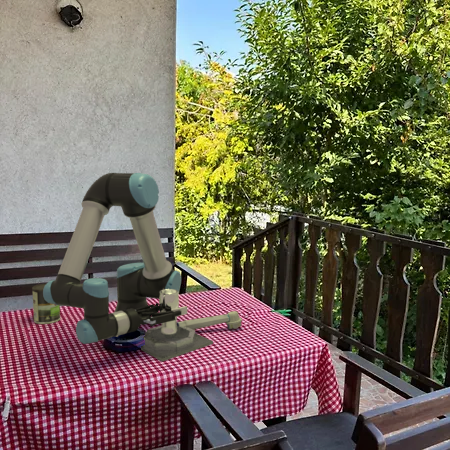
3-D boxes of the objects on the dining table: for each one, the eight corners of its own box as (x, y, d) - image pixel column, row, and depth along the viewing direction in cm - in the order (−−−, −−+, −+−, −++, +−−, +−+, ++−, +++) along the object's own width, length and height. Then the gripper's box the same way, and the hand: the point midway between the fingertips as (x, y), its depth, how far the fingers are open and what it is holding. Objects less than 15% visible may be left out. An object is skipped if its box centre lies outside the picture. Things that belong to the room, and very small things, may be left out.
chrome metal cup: (163, 337, 157) (162, 295, 156) (156, 330, 164) (156, 290, 162) (181, 333, 161) (181, 292, 159) (174, 327, 167) (174, 287, 165)
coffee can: (66, 317, 189) (64, 284, 187) (48, 325, 179) (46, 291, 177) (46, 314, 193) (45, 282, 191) (27, 322, 183) (26, 288, 181)
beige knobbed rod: (175, 320, 173) (238, 306, 179) (178, 336, 174) (240, 322, 180) (177, 324, 168) (241, 310, 174) (180, 341, 169) (244, 327, 175)
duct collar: (126, 341, 164) (126, 332, 163) (175, 327, 178) (175, 318, 178) (162, 361, 148) (162, 351, 147) (213, 343, 162) (213, 334, 162)
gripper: (110, 325, 156) (165, 311, 172) (140, 341, 142) (197, 324, 158) (109, 304, 156) (164, 292, 171) (140, 318, 141) (197, 303, 157)
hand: (180, 307), depth 165 cm, fingers closed on chrome metal cup, 6 cm apart
